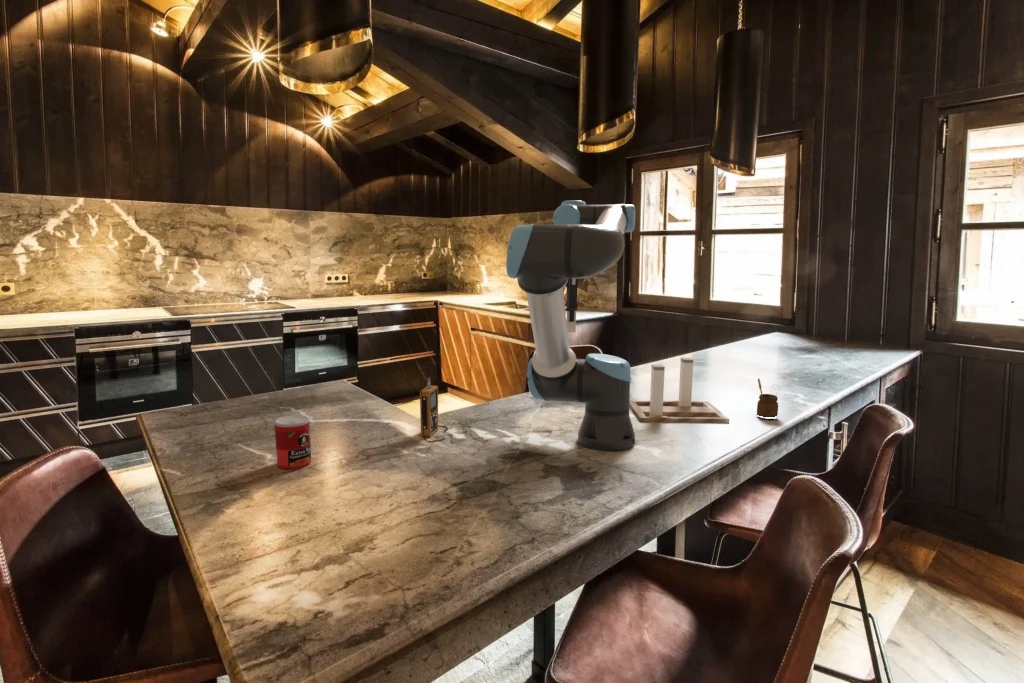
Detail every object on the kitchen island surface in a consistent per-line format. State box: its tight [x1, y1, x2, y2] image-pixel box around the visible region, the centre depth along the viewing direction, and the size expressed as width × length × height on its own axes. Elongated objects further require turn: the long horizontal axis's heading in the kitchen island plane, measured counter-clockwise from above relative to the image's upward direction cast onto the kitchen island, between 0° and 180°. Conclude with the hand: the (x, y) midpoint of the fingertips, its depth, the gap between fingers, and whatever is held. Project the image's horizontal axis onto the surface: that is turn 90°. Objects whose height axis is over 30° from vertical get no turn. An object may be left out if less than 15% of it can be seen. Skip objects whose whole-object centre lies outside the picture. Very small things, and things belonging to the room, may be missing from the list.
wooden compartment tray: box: [629, 399, 730, 425], centre depth 178 cm, size 26×20×3 cm
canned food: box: [274, 414, 312, 471], centre depth 136 cm, size 8×8×11 cm
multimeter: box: [419, 361, 457, 443], centre depth 159 cm, size 15×10×20 cm
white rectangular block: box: [649, 364, 666, 417], centre depth 171 cm, size 3×4×16 cm
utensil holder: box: [756, 378, 780, 417], centre depth 177 cm, size 6×6×12 cm
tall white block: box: [677, 357, 694, 407], centre depth 183 cm, size 3×4×16 cm
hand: (571, 331), depth 175 cm, fingers closed
